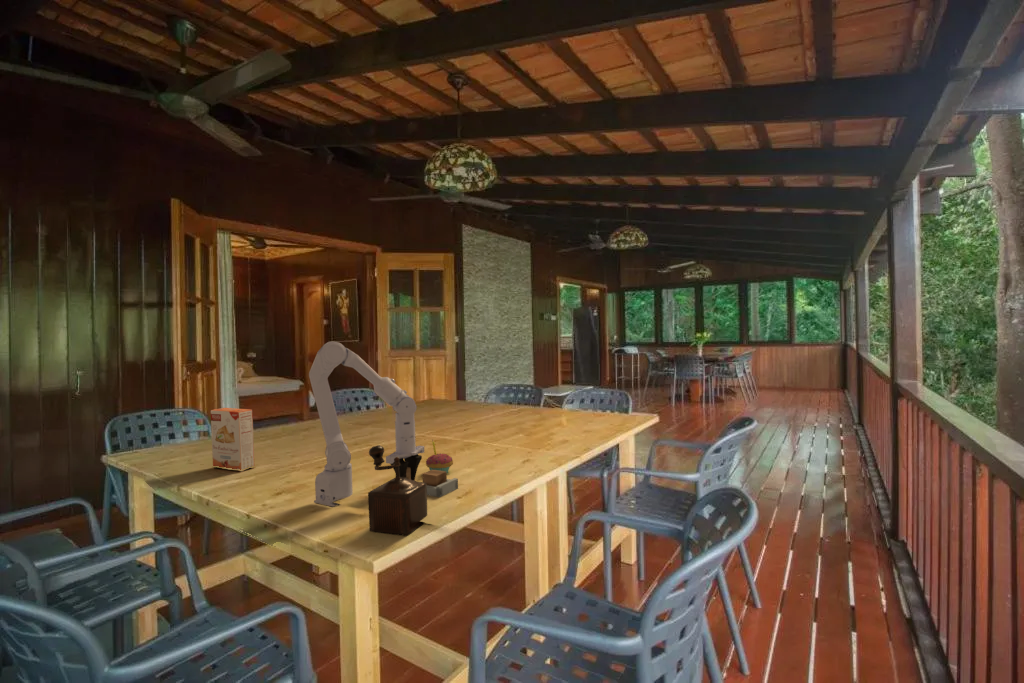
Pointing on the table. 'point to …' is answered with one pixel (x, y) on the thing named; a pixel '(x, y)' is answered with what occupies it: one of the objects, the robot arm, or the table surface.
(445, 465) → the cupcake
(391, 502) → the manual coffee grinder
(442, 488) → the lane shelf
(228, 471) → the table surface
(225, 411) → the cracker box
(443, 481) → the block
